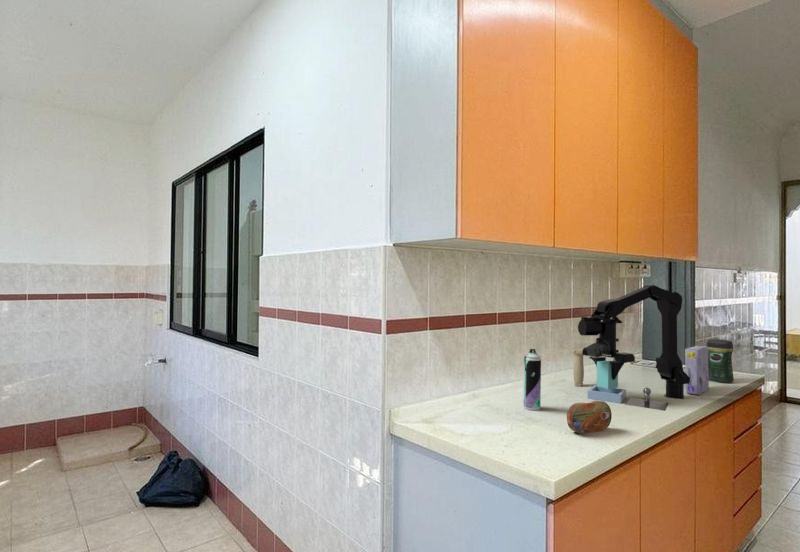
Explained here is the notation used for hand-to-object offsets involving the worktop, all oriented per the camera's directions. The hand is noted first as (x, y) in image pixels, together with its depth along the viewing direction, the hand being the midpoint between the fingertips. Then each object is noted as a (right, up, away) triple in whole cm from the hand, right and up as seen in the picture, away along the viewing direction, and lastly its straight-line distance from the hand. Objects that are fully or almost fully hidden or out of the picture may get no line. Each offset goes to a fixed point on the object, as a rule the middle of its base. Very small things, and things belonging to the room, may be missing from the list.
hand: (607, 378), depth 167 cm
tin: (-22, -7, -36) cm, 43 cm away
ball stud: (+10, -8, -8) cm, 15 cm away
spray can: (-32, -7, -14) cm, 35 cm away
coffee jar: (+67, -10, +36) cm, 76 cm away
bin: (0, -8, 0) cm, 8 cm away
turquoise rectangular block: (0, -3, 0) cm, 3 cm away
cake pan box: (+44, -9, +16) cm, 47 cm away
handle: (-2, -8, +22) cm, 23 cm away
